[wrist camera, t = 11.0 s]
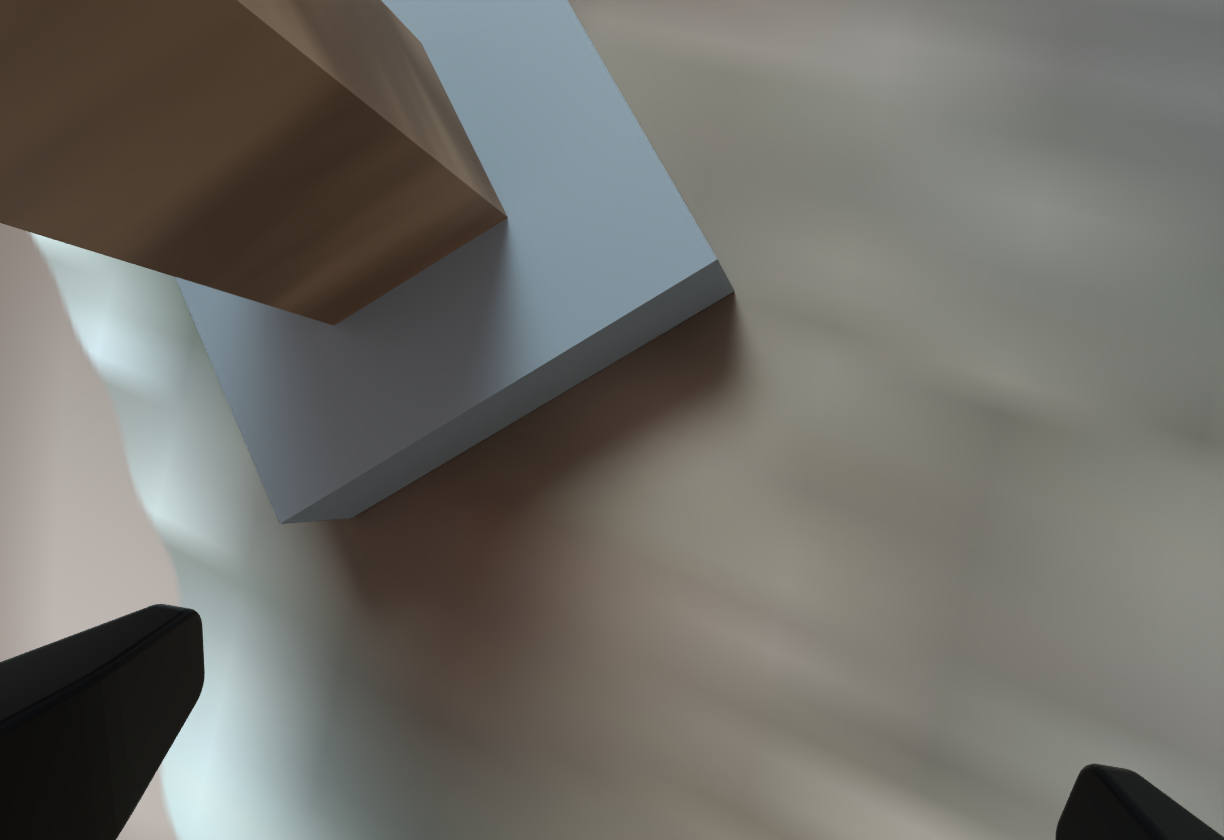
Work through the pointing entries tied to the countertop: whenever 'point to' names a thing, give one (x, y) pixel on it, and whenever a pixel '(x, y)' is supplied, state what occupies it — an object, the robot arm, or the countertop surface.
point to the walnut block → (238, 144)
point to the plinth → (474, 278)
